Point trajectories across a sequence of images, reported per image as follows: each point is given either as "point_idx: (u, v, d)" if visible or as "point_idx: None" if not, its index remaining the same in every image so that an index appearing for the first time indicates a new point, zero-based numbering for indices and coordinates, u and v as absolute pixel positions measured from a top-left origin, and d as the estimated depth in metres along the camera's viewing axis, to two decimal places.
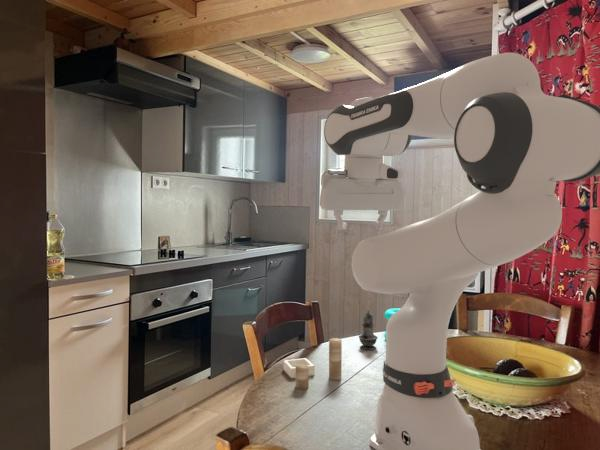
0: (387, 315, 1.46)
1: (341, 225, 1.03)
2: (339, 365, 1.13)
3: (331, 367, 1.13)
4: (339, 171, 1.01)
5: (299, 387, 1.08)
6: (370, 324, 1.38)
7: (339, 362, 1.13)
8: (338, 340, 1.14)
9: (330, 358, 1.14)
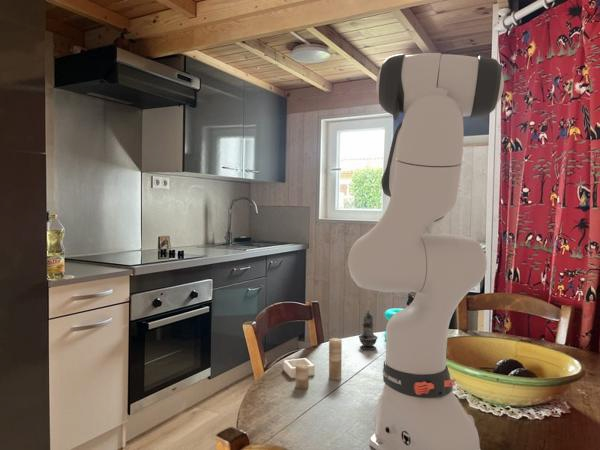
0: (387, 315, 1.46)
1: None
2: (339, 365, 1.13)
3: (331, 367, 1.13)
4: None
5: (299, 387, 1.08)
6: (370, 324, 1.38)
7: (339, 362, 1.13)
8: (338, 340, 1.14)
9: (330, 358, 1.14)
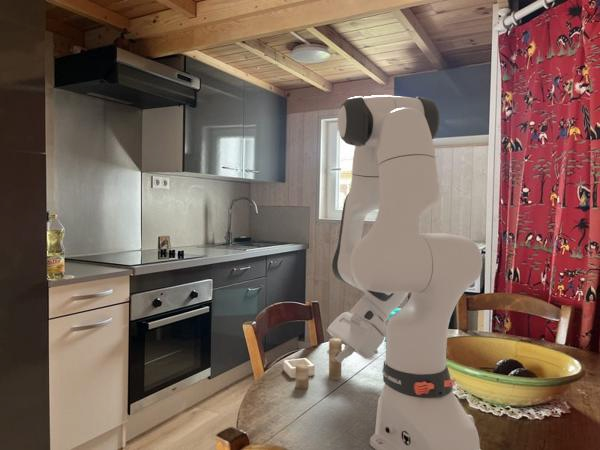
0: None
1: None
2: (339, 365, 1.13)
3: (331, 367, 1.13)
4: None
5: (299, 387, 1.08)
6: None
7: None
8: (338, 340, 1.14)
9: (330, 358, 1.14)
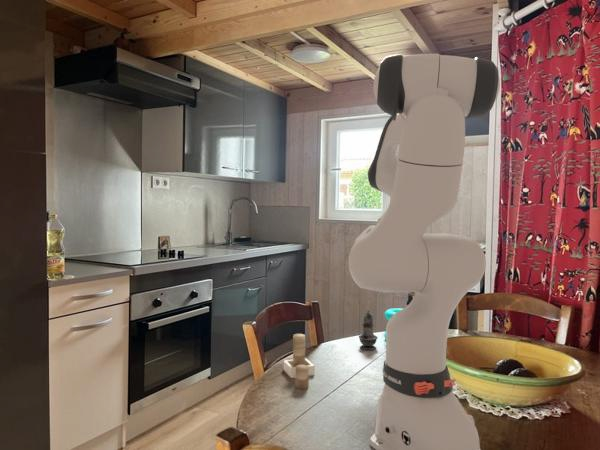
0: (387, 315, 1.46)
1: None
2: (302, 360, 1.17)
3: (295, 361, 1.17)
4: None
5: (299, 387, 1.08)
6: (370, 324, 1.38)
7: (302, 357, 1.17)
8: (302, 335, 1.18)
9: (294, 353, 1.18)
